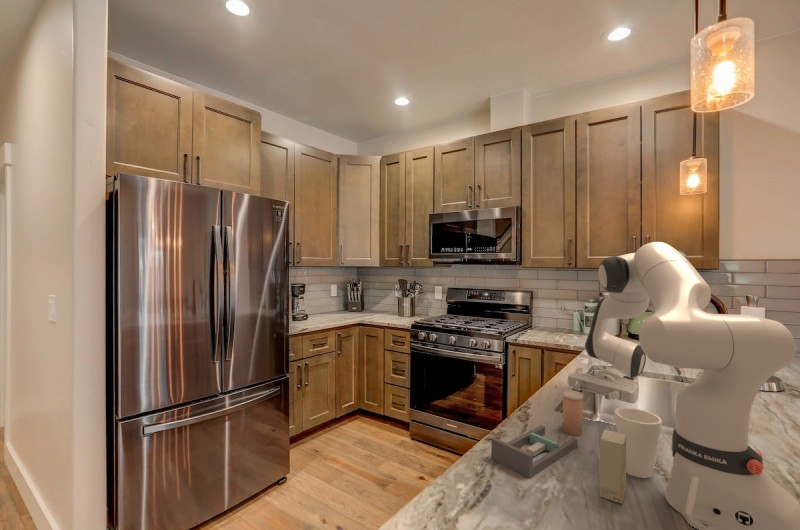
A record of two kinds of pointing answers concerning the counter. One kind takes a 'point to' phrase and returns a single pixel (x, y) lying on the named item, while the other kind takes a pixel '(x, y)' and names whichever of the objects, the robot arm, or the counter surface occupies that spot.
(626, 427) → the foam cup
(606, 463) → the skincare box
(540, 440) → the pusher plate
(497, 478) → the counter surface
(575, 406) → the terracotta jar
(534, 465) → the pusher lane
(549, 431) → the counter surface
